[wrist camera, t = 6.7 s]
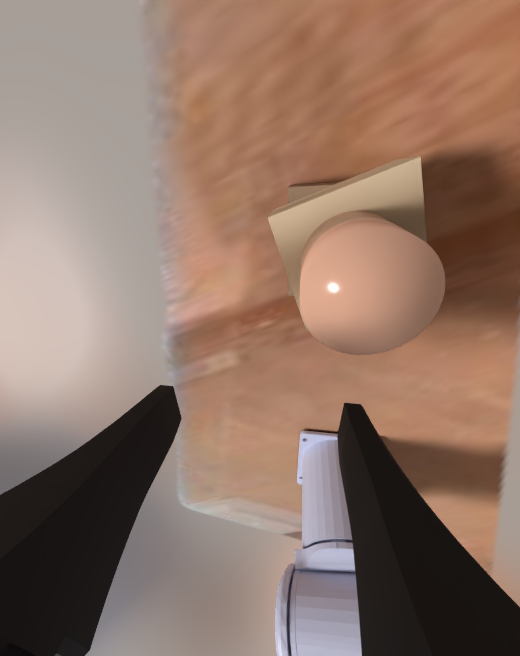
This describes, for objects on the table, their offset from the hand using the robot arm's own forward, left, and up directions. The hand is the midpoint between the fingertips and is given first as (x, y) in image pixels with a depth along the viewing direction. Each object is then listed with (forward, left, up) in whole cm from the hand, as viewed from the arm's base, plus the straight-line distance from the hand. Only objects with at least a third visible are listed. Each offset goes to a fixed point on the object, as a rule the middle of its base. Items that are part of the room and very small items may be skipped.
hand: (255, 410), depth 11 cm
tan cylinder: (+5, -4, -5) cm, 8 cm away
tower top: (+5, -4, -8) cm, 10 cm away
